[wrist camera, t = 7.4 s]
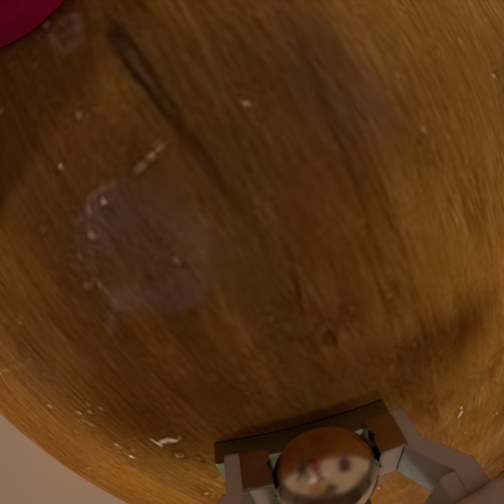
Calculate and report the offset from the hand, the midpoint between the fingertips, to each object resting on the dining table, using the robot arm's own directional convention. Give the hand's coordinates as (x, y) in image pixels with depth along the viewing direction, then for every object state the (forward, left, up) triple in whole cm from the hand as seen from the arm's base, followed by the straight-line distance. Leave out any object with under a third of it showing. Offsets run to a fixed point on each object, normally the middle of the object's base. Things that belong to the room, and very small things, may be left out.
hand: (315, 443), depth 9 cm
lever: (0, -5, +3) cm, 6 cm away
